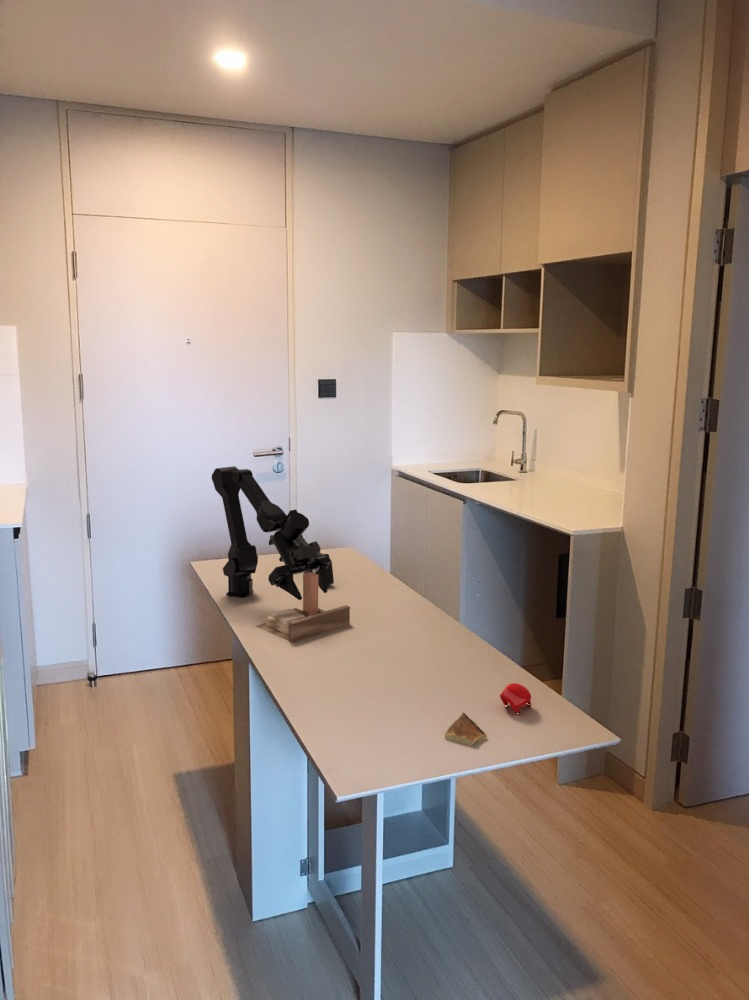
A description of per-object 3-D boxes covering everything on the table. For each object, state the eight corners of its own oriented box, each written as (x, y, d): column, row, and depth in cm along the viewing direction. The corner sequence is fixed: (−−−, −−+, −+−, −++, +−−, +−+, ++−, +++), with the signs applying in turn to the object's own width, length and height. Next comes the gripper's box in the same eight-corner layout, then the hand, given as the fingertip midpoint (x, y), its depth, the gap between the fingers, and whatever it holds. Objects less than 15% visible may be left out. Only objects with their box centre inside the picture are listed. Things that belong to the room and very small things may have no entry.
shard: (463, 718, 169) (463, 710, 169) (497, 727, 166) (498, 719, 165) (442, 740, 160) (443, 732, 159) (478, 750, 156) (479, 742, 156)
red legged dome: (513, 706, 167) (535, 689, 168) (495, 688, 171) (516, 671, 172) (518, 724, 173) (539, 707, 174) (500, 706, 177) (521, 689, 178)
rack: (255, 629, 216) (255, 608, 215) (311, 612, 230) (311, 592, 229) (292, 646, 205) (292, 623, 204) (349, 627, 219) (349, 606, 218)
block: (302, 618, 222) (303, 573, 220) (309, 616, 224) (310, 571, 221) (311, 621, 220) (311, 576, 217) (318, 619, 222) (318, 574, 219)
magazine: (337, 562, 250) (304, 515, 273) (327, 563, 248) (295, 516, 272) (330, 607, 257) (299, 558, 281) (321, 608, 256) (290, 559, 279)
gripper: (274, 538, 213) (301, 587, 208) (326, 528, 226) (353, 574, 221) (257, 561, 220) (282, 609, 215) (308, 549, 233) (333, 594, 228)
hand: (313, 595), depth 220 cm, fingers open, 9 cm apart
